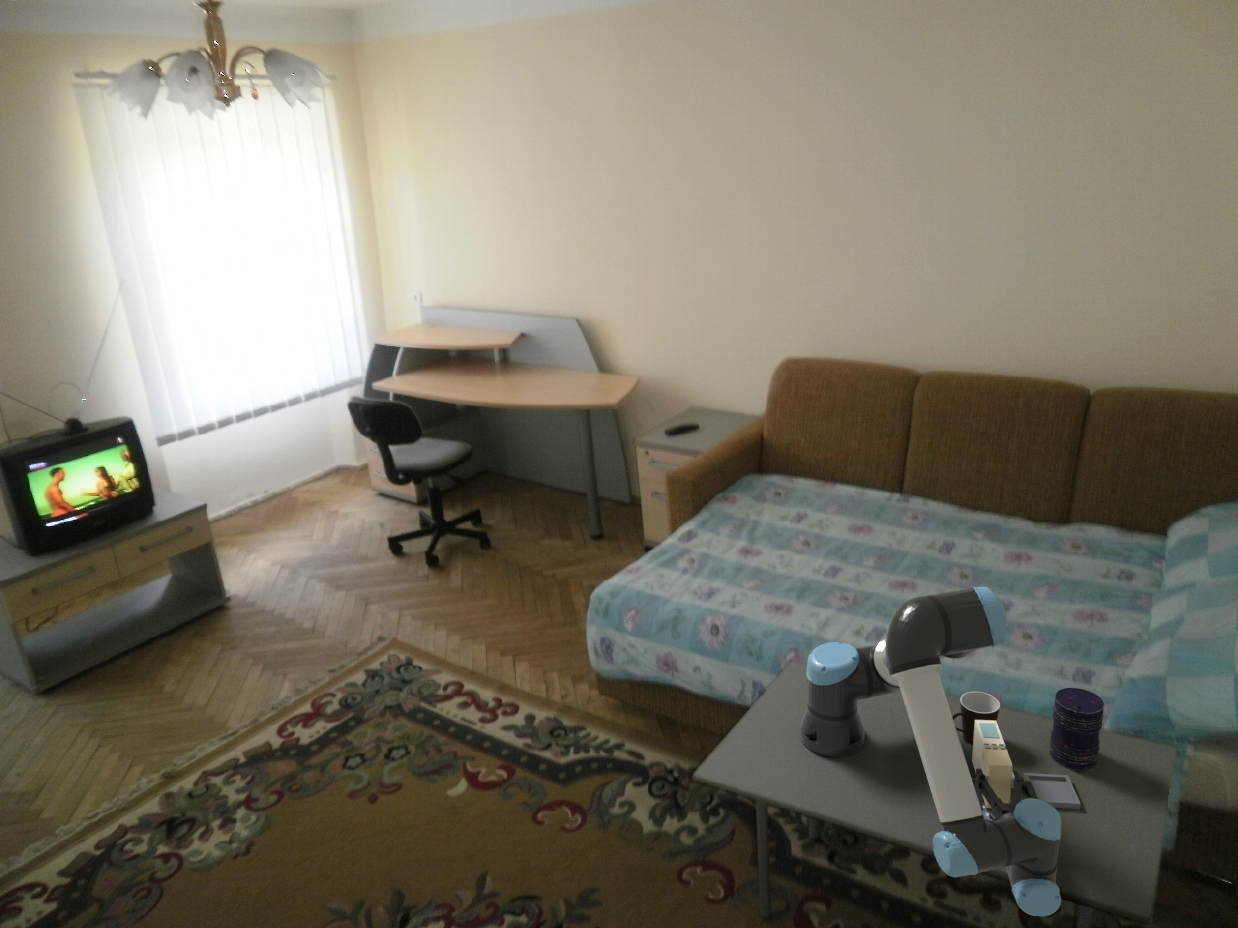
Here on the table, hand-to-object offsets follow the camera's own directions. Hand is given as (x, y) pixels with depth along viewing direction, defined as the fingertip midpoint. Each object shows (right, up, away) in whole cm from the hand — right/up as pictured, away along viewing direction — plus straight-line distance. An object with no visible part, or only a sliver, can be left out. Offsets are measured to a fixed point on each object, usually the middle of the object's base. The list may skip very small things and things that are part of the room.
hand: (992, 761), depth 192 cm
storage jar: (+22, -2, +9) cm, 24 cm away
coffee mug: (+2, -1, +18) cm, 18 cm away
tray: (+12, -6, -1) cm, 14 cm away
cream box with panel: (+1, -5, +6) cm, 8 cm away
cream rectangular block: (0, -7, -2) cm, 8 cm away
